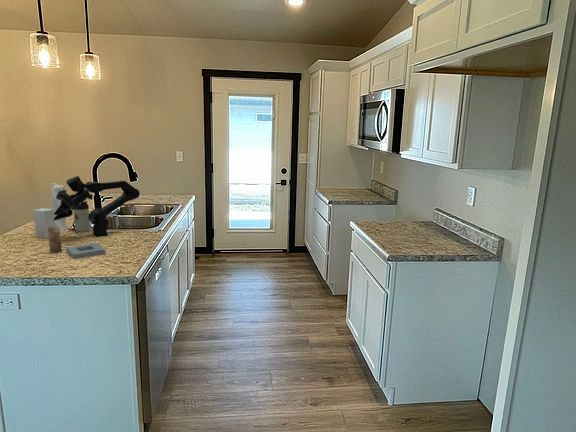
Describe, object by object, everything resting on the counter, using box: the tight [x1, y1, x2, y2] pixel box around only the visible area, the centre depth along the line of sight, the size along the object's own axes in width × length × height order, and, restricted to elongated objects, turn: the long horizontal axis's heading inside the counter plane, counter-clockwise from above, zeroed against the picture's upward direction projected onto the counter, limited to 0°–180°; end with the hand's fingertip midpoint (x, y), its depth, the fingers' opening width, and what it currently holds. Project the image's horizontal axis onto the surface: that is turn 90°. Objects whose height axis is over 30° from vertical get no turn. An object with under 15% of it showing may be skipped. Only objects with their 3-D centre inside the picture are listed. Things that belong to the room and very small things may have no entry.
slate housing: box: [65, 242, 106, 260], centre depth 198 cm, size 14×14×2 cm
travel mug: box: [73, 199, 91, 232], centre depth 239 cm, size 8×8×18 cm
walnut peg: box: [48, 227, 63, 254], centre depth 198 cm, size 5×5×12 cm
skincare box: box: [32, 207, 56, 239], centre depth 223 cm, size 8×7×16 cm
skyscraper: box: [49, 183, 69, 232], centre depth 238 cm, size 8×8×28 cm
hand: (54, 217), depth 210 cm, fingers open, 9 cm apart
